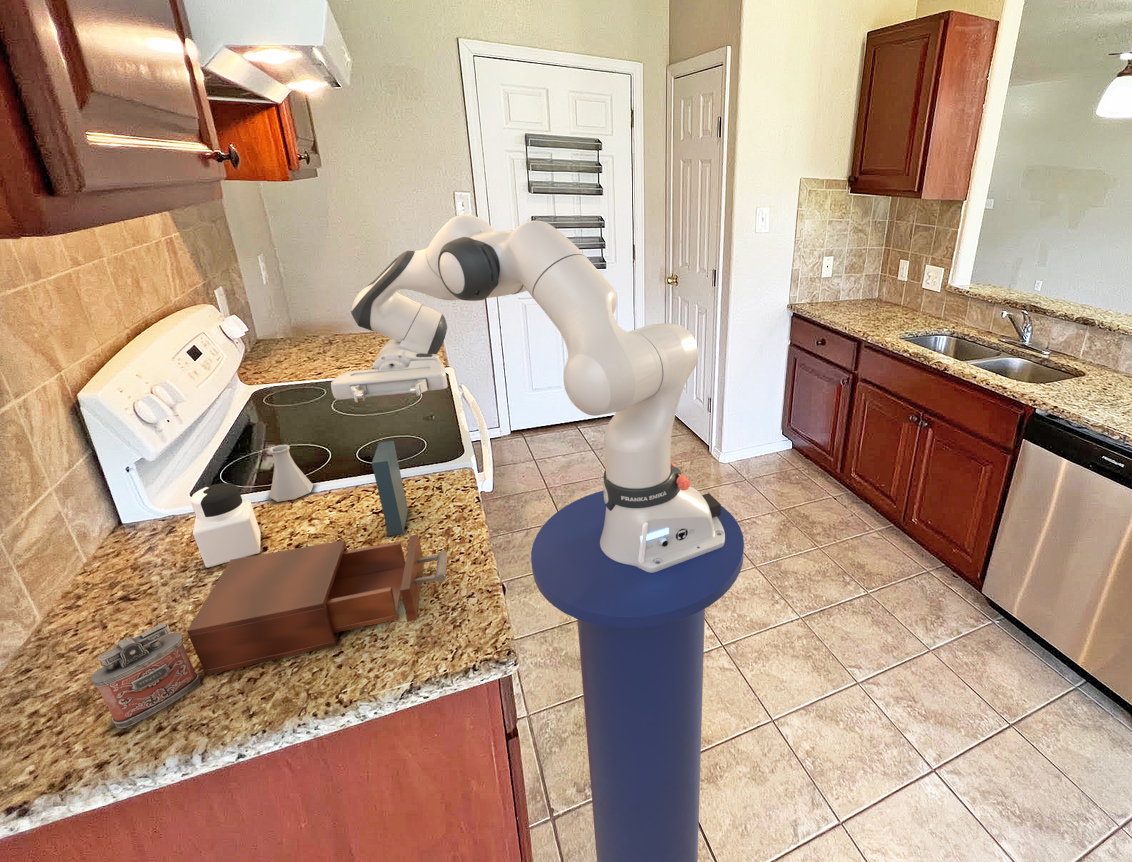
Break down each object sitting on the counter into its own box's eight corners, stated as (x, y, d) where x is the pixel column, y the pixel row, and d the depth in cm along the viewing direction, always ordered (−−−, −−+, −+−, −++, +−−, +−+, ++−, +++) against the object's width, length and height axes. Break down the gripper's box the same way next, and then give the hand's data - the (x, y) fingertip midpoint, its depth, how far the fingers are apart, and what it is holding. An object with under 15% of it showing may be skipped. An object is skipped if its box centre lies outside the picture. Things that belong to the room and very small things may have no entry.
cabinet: (355, 578, 92) (345, 540, 89) (335, 646, 79) (323, 603, 76) (245, 600, 87) (230, 559, 84) (205, 675, 74) (186, 630, 71)
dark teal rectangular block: (408, 509, 110) (393, 440, 104) (403, 533, 103) (387, 460, 97) (394, 512, 109) (378, 442, 103) (388, 536, 102) (371, 463, 96)
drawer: (451, 557, 96) (446, 529, 94) (448, 612, 84) (442, 581, 82) (329, 581, 90) (320, 551, 88) (307, 644, 78) (296, 611, 76)
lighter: (121, 733, 67) (88, 670, 63) (109, 719, 68) (76, 657, 64) (205, 683, 73) (180, 623, 69) (193, 671, 75) (167, 612, 71)
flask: (272, 506, 109) (258, 460, 106) (267, 490, 114) (253, 446, 110) (317, 493, 114) (305, 449, 110) (310, 479, 119) (298, 436, 115)
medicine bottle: (261, 532, 102) (241, 474, 97) (260, 553, 97) (240, 493, 92) (209, 546, 98) (186, 486, 93) (206, 569, 93) (181, 506, 88)
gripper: (335, 362, 115) (319, 386, 103) (446, 353, 122) (442, 374, 111) (342, 391, 118) (327, 417, 106) (450, 380, 125) (447, 404, 113)
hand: (387, 395), depth 108 cm, fingers open, 8 cm apart
